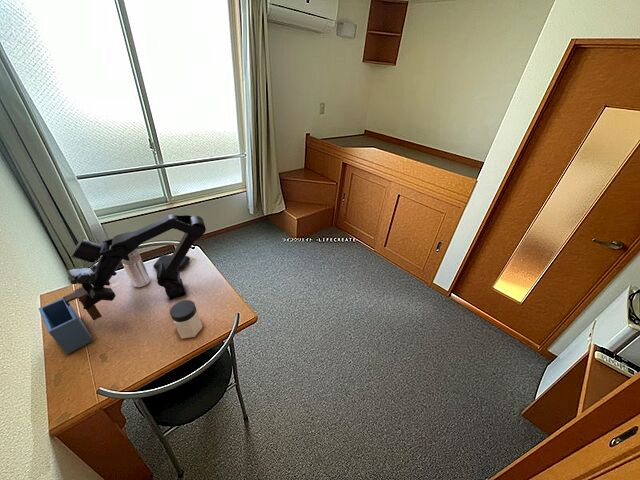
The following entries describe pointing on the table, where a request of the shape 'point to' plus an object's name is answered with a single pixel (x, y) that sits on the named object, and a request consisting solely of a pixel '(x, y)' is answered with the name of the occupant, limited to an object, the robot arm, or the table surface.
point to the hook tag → (83, 297)
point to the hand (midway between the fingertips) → (82, 304)
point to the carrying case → (166, 258)
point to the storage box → (65, 325)
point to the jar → (186, 318)
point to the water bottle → (136, 269)
